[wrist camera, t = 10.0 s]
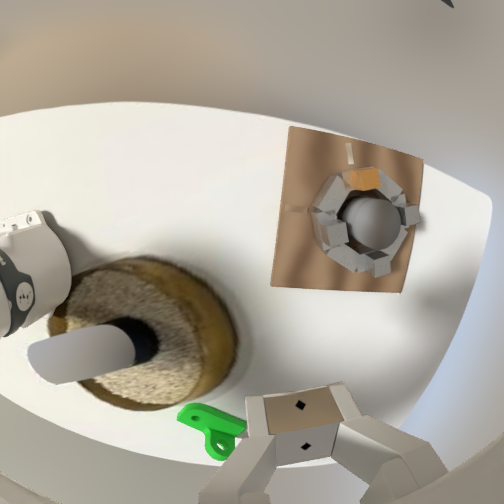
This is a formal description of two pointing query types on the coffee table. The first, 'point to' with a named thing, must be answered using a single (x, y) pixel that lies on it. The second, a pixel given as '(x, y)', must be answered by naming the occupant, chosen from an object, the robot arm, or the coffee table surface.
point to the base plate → (304, 191)
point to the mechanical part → (213, 428)
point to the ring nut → (335, 231)
